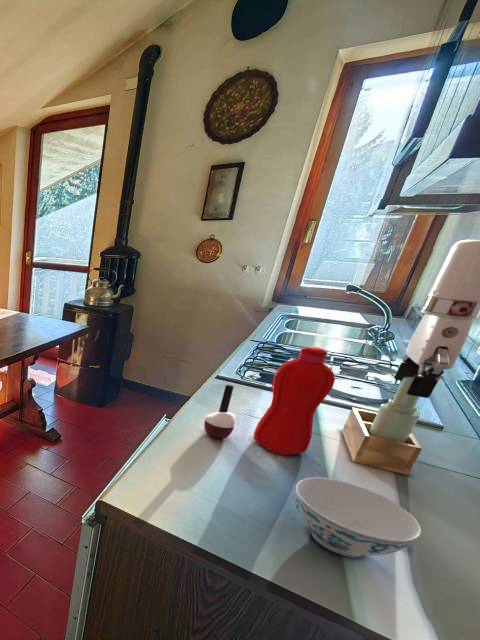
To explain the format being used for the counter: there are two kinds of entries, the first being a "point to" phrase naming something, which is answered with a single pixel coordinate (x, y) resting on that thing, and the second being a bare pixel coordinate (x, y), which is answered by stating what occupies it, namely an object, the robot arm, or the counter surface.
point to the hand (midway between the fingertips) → (409, 387)
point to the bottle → (397, 415)
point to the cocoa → (221, 418)
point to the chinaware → (353, 518)
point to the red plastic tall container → (295, 402)
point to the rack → (378, 445)
